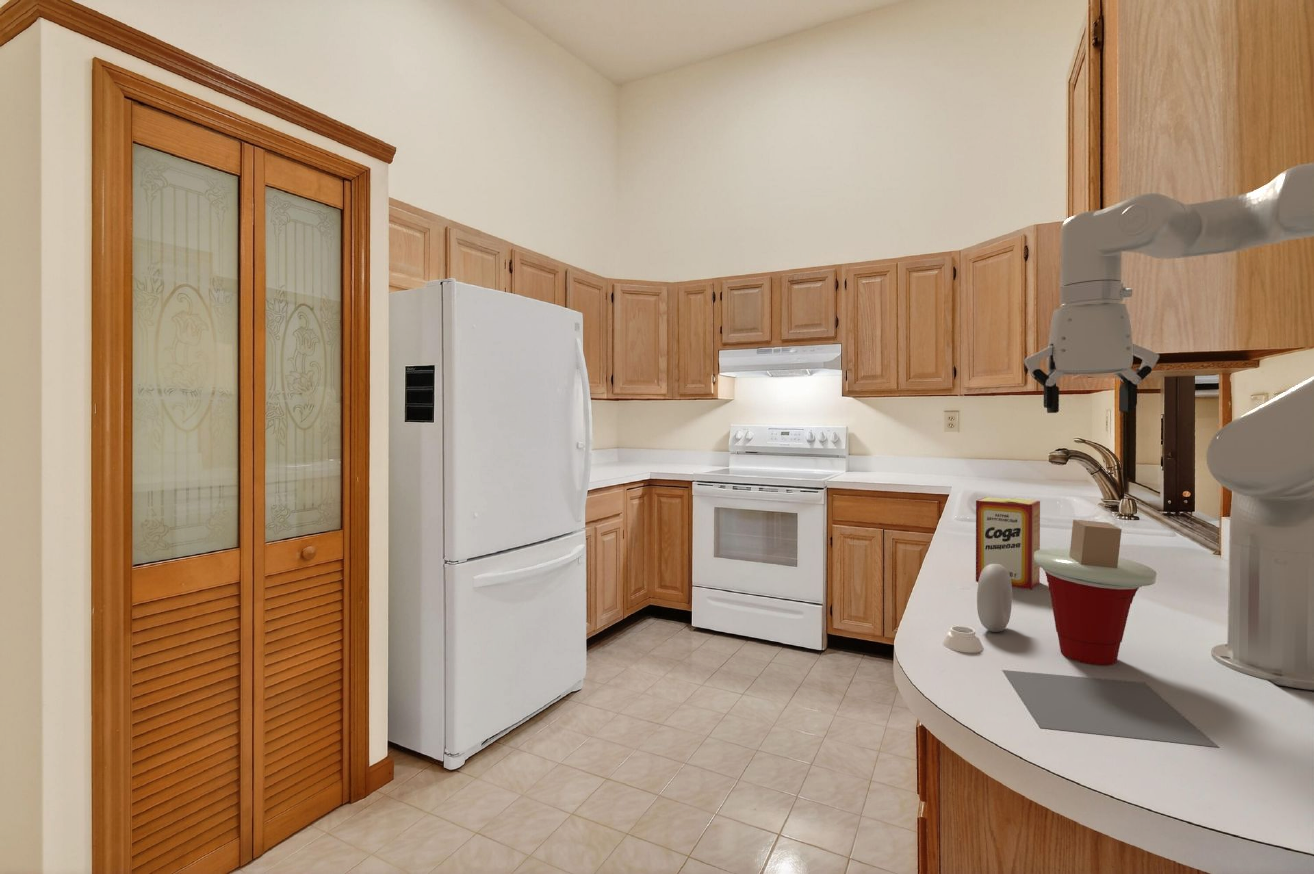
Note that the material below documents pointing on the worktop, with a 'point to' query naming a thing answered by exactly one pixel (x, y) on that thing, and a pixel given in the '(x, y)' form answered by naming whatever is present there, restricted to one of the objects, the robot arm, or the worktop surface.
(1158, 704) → the mat
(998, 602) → the donut
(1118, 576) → the lid
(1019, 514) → the baking soda box
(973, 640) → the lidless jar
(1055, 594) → the plastic cup
